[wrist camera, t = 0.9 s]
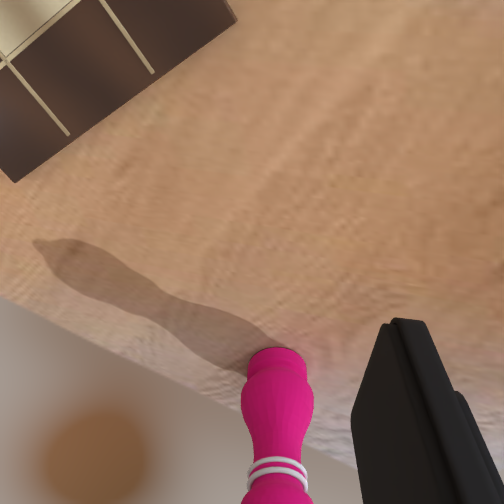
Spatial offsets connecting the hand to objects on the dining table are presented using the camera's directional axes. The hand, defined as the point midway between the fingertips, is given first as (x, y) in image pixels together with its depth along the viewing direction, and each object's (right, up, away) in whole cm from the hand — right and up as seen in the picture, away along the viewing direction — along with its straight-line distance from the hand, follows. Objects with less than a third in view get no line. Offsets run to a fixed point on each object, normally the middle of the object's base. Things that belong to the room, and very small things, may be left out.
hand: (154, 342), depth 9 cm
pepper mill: (+5, -10, +39) cm, 41 cm away
